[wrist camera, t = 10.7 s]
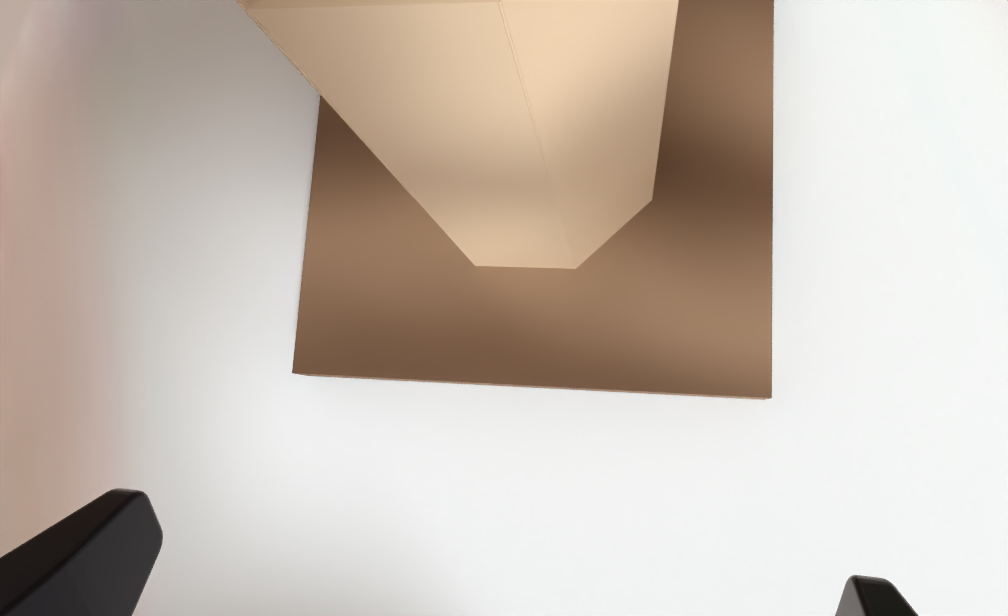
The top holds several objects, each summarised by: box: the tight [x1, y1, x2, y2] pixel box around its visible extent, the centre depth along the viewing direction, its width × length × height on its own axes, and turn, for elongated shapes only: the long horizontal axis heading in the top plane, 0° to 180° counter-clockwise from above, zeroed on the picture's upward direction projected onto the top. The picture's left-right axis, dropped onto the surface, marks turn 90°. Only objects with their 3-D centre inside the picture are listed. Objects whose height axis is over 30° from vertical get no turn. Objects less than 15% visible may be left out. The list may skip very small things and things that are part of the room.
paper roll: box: [236, 0, 679, 269], centre depth 14 cm, size 6×6×12 cm
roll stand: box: [292, 0, 774, 400], centre depth 18 cm, size 12×12×6 cm
